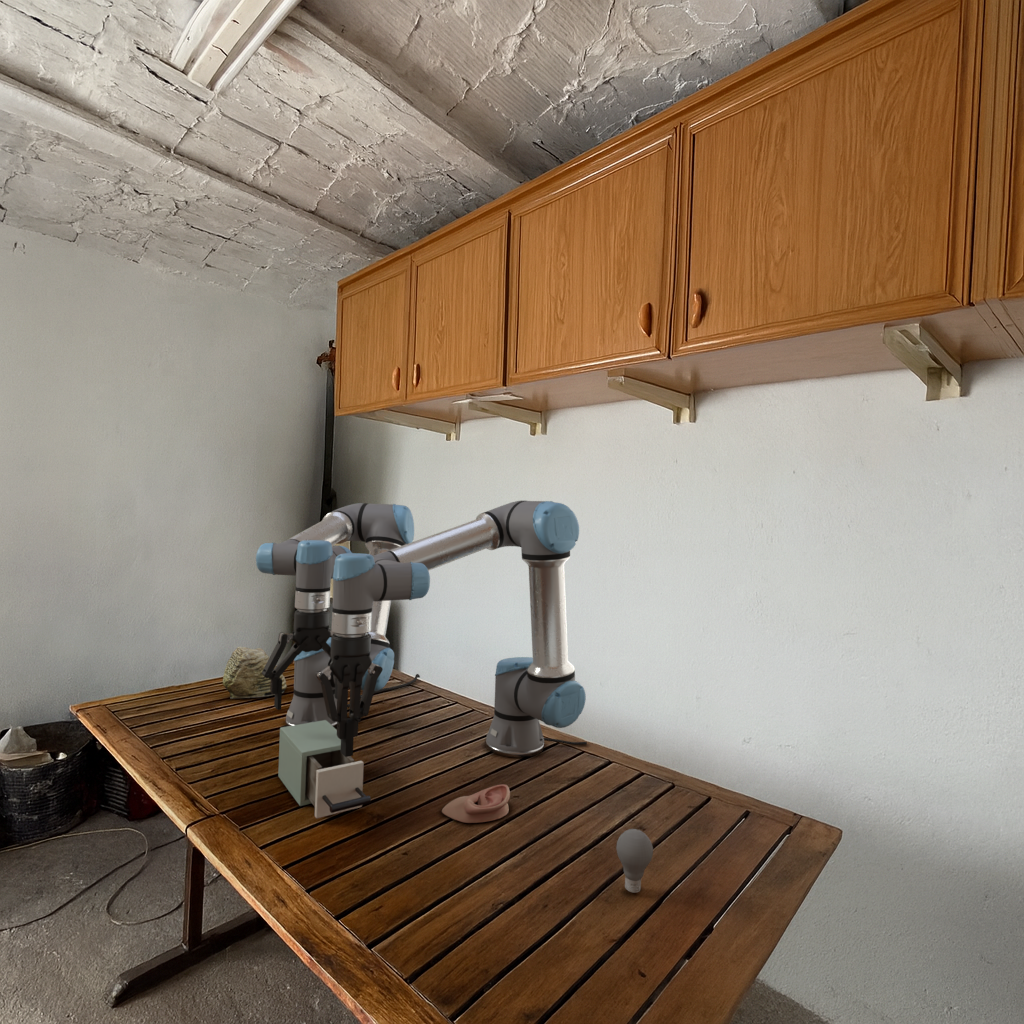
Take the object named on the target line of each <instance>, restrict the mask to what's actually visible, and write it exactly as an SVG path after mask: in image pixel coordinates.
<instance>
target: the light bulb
mask: <svg viewBox="0 0 1024 1024" xmlns="http://www.w3.org/2000/svg"><path fill="white" fill-rule="evenodd" d="M615 849H616V854H617V857H618V859H619V861H620V863H621V865H622V867H623V873H624V874H623V875H624V876H625V878H624V888H625V890H627V891H628V892H630V893H634V894H635V893H639V892H640V891H641V889H642V887H641V886H642V879H643V877H644V875H645V871H646V868H647V867H648V866H649V864H650V863H651V861H652V859H653V855H654V847H653V843H652V841H651V838H649V836H648V835H647V834H646V833H645V832H643V831H642V830H641V829H636V828H629V829H627V830H625V831H623V832H622V833H621V834H620V835H619V837H618V839H617V841H616V847H615Z"/></svg>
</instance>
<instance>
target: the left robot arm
mask: <svg viewBox="0 0 1024 1024" xmlns="http://www.w3.org/2000/svg"><path fill="white" fill-rule="evenodd" d="M414 537H415V522H414V516H413V513H412V510H411V509H410V508H409V507H408V506H406V505H403V504H396V503H391V504H389V503H370V502H369V503H366V502H359V503H358V502H357V503H351V504H347V505H344V506H342V507H339V508H337V509H334V510H332V511H330V512H328V513H327V514H326V515H324V517H323V518H322V520H321V521H319V522H317V523H315V524H314V525H311V526H310V527H308V528H306V529H304V530H302V531H301V532H299V533H297V534H295V535H293V536H291V537H289V538H287V539H286V540H284V541H281V542H279V543H277V542H265V543H262V544H260V546H259V547H258V548H257V551H256V553H255V561H256V562H255V563H256V564H255V565H256V567H257V569H258V571H259V572H260V573H262V574H268V575H273V576H275V575H276V576H295V593H294V594H295V597H294V608H295V609H296V610H295V611H294V616H293V617H294V618H293V619H294V620H293V631H292V633H287V632H286V633H285V632H283V631H281V632H279V633H278V637H277V643H276V644H275V646H274V648H273V651H272V652H271V654H270V655H269V660H268V662H267V663H266V665H265V667H264V669H263V671H262V675H263V676H264V677H265V678H270V679H271V684H270V691H271V693H272V694H275V695H274V701H273V704H274V705H273V706H274V708H275V709H276V710H277V711H280V710H282V697H283V693H282V679H281V678H280V676H281V675H284V673H285V671H286V670H287V669H288V668H289V667H290V665H291V664H292V663H293V662H294V672H293V695H292V696H293V697H292V699H291V702H290V704H289V708H288V709H287V713H286V715H285V727H287V726H293V725H299V724H305V723H311V722H317V721H323V720H326V721H327V722H329V723H330V724H331V725H332V726H333V727H334V728H335V729H336V728H337V722H336V721H335V722H333V721H332V720H331V719H330V718H329V717H328V716H327V711H326V706H325V701H324V697H323V692H322V687H321V683H320V681H319V680H318V678H317V677H316V672H317V671H322V670H324V669H325V668H326V667H327V666H328V662H329V660H330V657H331V636H332V635H333V634H334V633H333V632H332V631H331V629H330V615H331V614H330V613H331V612H330V610H329V608H330V607H331V587H332V585H331V584H332V580H333V573H334V565H335V559H336V557H337V556H338V555H340V554H345V553H353V552H352V550H350V548H348V547H346V546H344V545H341V544H344V543H346V542H363V543H365V544H364V546H365V548H366V549H367V550H368V554H370V555H373V556H374V555H377V554H380V553H383V552H386V551H389V550H392V549H395V548H397V547H400V546H403V545H406V544H409V543H411V542H414V539H415V538H414ZM391 604H392V600H390V601H373V604H372V622H371V631H370V632H369V634H370V635H371V649H370V657H371V659H372V663H374V664H377V665H379V666H380V667H382V669H383V670H382V672H381V674H380V675H379V677H378V679H377V682H376V686H375V690H374V694H379V693H382V692H388V691H393V690H397V689H400V688H404V687H407V686H410V685H413V684H414V683H415V682H416V681H417V680H418V679H419V678H421V675H420V674H419V673H416V674H415V676H414V678H413V680H410V681H408V682H405V683H402V684H399V685H395V686H389V687H385V686H386V685H387V684H388V682H389V681H390V678H391V675H392V673H393V670H394V666H395V665H394V664H395V652H394V650H393V649H392V648H391V647H390V645H391V644H390V641H389V639H388V638H387V637H386V634H387V628H388V622H389V616H390V610H391ZM291 640H292V641H293V642H294V643H293V645H292V646H291V647H290V649H289V650H288V652H287V653H286V654H285V655H284V657H283V658H282V659H281V660H280V658H281V656H282V654H283V653H284V651H285V649H286V646H287V645H288V644H289V643H290V641H291ZM279 660H280V662H279ZM275 666H276V668H275ZM274 668H275V669H274ZM367 675H368V670H367V671H366V673H365V674H364V676H363V677H362V686H361V691H363V689H364V685H365V681H366V677H367ZM329 681H330V683H331V686H332V691H333V696H334V701H335V706H336V710H337V690H338V685H337V679H336V677H335V676H334V675H333V673H332V672H331V679H330V680H329ZM348 690H350V682H349V688H348ZM361 697H362V694H361V696H360V699H361ZM347 708H350V703H348V705H347Z"/></svg>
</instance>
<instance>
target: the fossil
mask: <svg viewBox="0 0 1024 1024" xmlns="http://www.w3.org/2000/svg"><path fill="white" fill-rule="evenodd" d="M269 658H270V655H268V654H267V653H266V652H265V650H264V649H263V648H260V647H258V648H251V647H247V646H246V647H245V646H238V647H237V648H236V649H235V650H233V651H232V653H231V656H230V657H229V659H228V660H227V663H226V666H225V668H224V671H223V675H222V676H223V677H222V685H223V687H224V688H225V690H226V691H228V693H229V698H230V699H250V698H264V697H271V696H275V694H272V693H271V691H270V684H271V679H270V678H265V677H264V676H263V675H262V671H263V669H264V667H265V665H266V663H267V662H268V660H269ZM276 666H277V665H276ZM276 666H275V668H276ZM275 668H274V669H275ZM280 678H281V679H282V694H284V693H285V691H286V689H287V687H288V686H287V680H286V678H285V676H284V674H282V675H281V676H280Z"/></svg>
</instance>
